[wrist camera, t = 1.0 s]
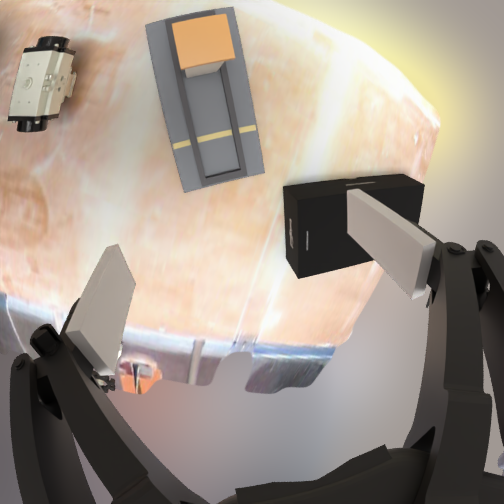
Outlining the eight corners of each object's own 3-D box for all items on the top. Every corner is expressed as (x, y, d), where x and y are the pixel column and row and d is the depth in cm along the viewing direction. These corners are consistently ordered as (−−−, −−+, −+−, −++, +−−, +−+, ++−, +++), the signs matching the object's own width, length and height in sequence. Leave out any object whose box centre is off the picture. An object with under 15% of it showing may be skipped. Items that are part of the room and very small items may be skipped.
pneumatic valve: (45, 122, 27) (0, 134, 17) (64, 48, 22) (23, 35, 12) (74, 124, 29) (34, 136, 19) (95, 48, 24) (60, 31, 14)
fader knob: (220, 73, 30) (235, 57, 19) (184, 81, 29) (180, 68, 19) (213, 43, 27) (226, 13, 16) (177, 50, 27) (171, 23, 16)
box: (402, 173, 45) (424, 184, 40) (394, 234, 52) (413, 249, 47) (282, 185, 42) (297, 200, 36) (285, 257, 49) (298, 279, 44)
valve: (99, 323, 47) (88, 370, 37) (126, 336, 51) (120, 383, 41) (89, 339, 49) (79, 384, 39) (115, 351, 52) (109, 396, 42)
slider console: (263, 171, 40) (266, 174, 38) (184, 190, 38) (184, 195, 37) (232, 9, 25) (234, 4, 24) (146, 26, 24) (143, 23, 23)
